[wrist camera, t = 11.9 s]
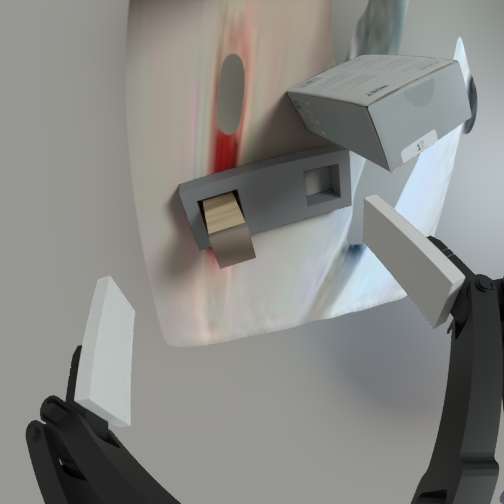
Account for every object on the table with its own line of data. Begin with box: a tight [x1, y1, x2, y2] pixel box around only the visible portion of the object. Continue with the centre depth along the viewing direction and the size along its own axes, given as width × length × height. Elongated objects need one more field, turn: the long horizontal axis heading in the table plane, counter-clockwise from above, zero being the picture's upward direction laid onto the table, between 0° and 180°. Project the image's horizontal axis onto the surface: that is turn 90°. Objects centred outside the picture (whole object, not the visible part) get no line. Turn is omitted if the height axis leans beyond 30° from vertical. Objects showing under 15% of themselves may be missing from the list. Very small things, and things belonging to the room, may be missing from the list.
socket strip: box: [179, 144, 351, 250], centre depth 43 cm, size 10×26×4 cm, turn 102°
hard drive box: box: [287, 55, 471, 173], centre depth 29 cm, size 16×8×20 cm, turn 122°
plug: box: [202, 191, 256, 269], centre depth 39 cm, size 5×5×13 cm
